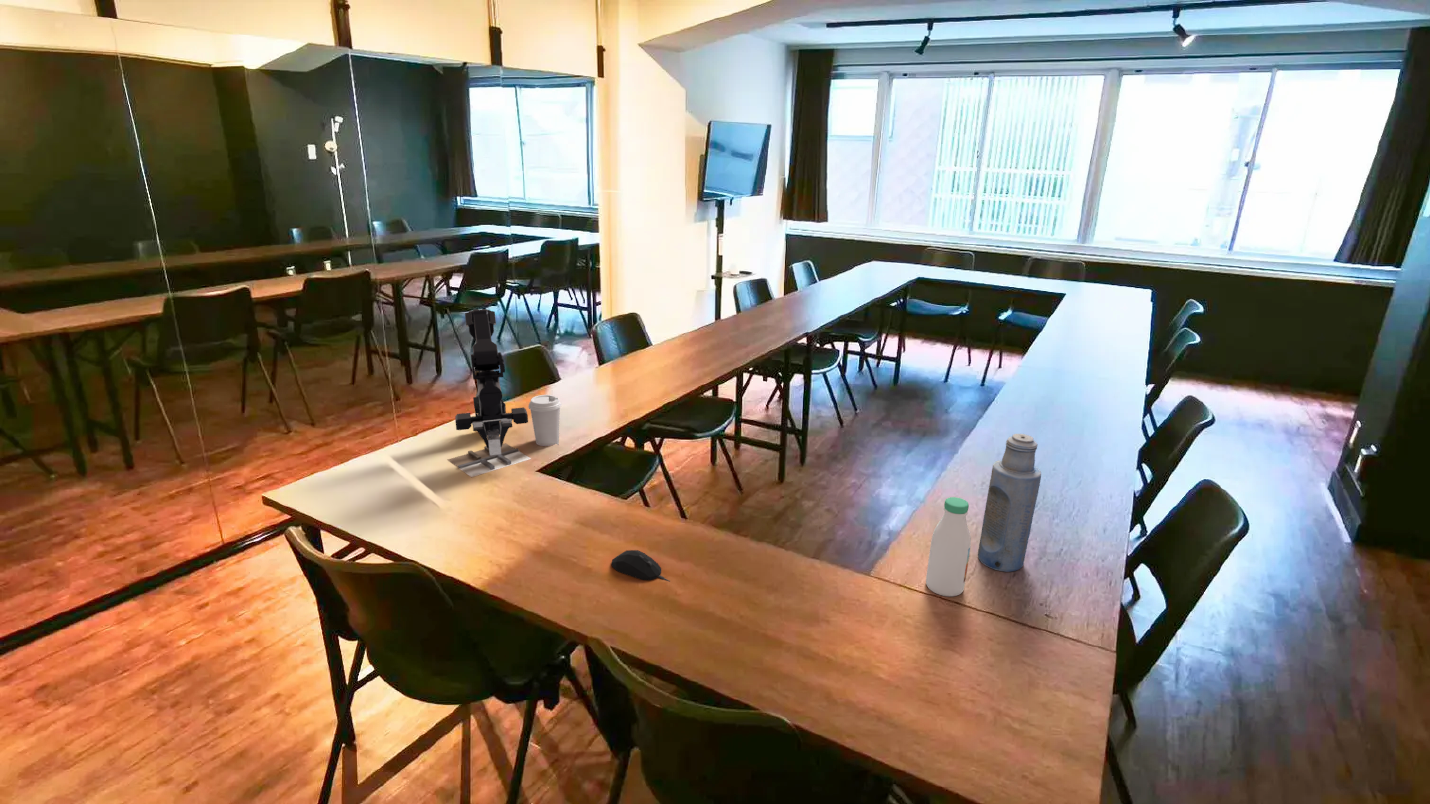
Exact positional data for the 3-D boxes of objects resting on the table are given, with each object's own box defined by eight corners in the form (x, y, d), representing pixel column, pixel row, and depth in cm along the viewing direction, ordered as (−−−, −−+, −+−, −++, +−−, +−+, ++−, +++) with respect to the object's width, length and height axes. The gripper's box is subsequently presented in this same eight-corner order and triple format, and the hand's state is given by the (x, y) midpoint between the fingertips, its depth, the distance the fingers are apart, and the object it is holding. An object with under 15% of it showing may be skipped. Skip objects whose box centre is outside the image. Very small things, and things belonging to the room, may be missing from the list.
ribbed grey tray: (447, 464, 201) (446, 456, 201) (506, 447, 213) (505, 439, 212) (472, 482, 191) (471, 473, 190) (531, 463, 203) (531, 455, 202)
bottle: (967, 554, 161) (987, 431, 151) (1001, 545, 165) (1022, 425, 155) (999, 576, 153) (1021, 448, 143) (1033, 567, 157) (1057, 441, 147)
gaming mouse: (661, 590, 147) (661, 573, 146) (605, 568, 154) (605, 552, 153) (678, 575, 152) (678, 559, 151) (624, 555, 159) (623, 539, 158)
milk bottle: (958, 602, 144) (972, 514, 137) (920, 589, 148) (932, 504, 141) (967, 583, 150) (981, 499, 144) (931, 572, 154) (942, 489, 147)
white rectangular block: (501, 454, 196) (499, 436, 194) (489, 455, 195) (488, 438, 193) (499, 445, 201) (498, 429, 199) (488, 447, 200) (487, 430, 198)
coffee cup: (556, 453, 210) (553, 405, 205) (525, 450, 211) (522, 403, 206) (568, 441, 219) (566, 395, 213) (539, 438, 220) (536, 392, 215)
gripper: (522, 382, 202) (526, 432, 208) (452, 388, 196) (458, 440, 202) (526, 394, 192) (530, 447, 198) (453, 401, 186) (459, 455, 192)
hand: (494, 447), depth 197 cm, fingers closed on white rectangular block, 3 cm apart
